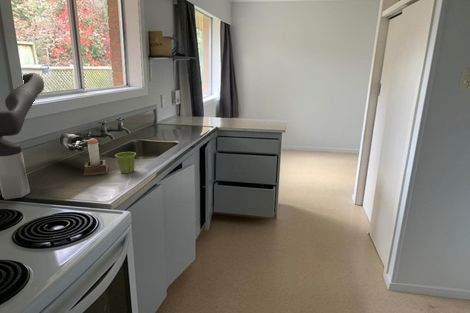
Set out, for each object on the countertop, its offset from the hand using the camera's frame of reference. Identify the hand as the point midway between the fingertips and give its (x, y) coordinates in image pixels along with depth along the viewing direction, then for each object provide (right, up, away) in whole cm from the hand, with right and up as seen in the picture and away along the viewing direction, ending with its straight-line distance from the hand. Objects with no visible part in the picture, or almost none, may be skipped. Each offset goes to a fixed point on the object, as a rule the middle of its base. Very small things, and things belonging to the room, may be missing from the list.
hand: (90, 147), depth 152 cm
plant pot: (+17, -12, +2) cm, 21 cm away
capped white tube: (+2, -10, +2) cm, 11 cm away
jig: (+2, -11, +2) cm, 12 cm away
